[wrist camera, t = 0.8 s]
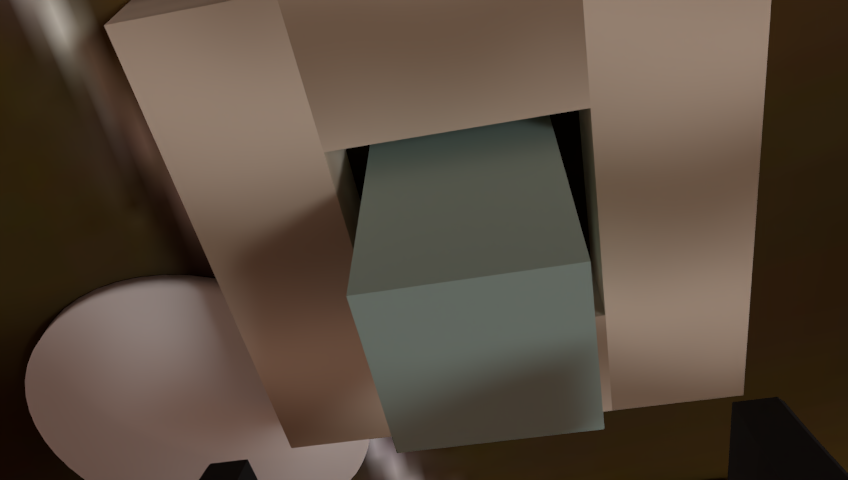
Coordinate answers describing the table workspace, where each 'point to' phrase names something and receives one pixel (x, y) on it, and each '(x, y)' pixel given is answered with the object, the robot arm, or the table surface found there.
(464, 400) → the block
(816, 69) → the table surface
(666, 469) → the table surface
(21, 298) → the table surface
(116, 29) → the board
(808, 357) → the table surface
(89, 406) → the coaster
